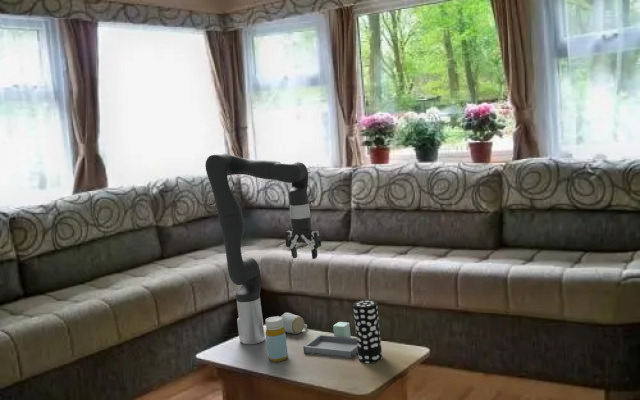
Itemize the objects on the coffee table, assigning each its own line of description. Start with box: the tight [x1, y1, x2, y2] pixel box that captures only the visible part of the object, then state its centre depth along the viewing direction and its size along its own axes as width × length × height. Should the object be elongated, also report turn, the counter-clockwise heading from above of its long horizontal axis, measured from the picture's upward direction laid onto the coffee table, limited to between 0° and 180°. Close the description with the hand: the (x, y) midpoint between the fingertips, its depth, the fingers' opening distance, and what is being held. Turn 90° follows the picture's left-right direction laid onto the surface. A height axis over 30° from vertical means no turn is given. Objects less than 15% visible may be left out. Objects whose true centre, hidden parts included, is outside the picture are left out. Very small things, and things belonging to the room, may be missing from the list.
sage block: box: [332, 321, 352, 338], centre depth 250 cm, size 5×5×6 cm
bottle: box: [265, 315, 289, 363], centre depth 236 cm, size 7×7×15 cm
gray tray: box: [302, 334, 358, 359], centre depth 240 cm, size 20×13×2 cm, turn 60°
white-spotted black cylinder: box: [352, 299, 383, 364], centre depth 227 cm, size 8×8×20 cm
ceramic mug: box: [280, 312, 308, 335], centre depth 264 cm, size 11×8×8 cm
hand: (304, 258), depth 246 cm, fingers open, 8 cm apart
